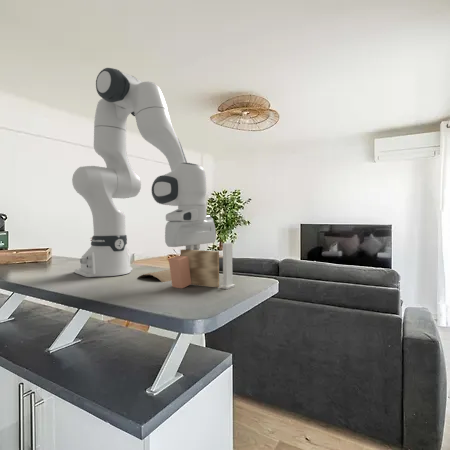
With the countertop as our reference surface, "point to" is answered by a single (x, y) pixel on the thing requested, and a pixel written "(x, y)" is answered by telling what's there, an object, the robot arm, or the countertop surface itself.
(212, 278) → the oak door
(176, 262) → the block
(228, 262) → the wall post
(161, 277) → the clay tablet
